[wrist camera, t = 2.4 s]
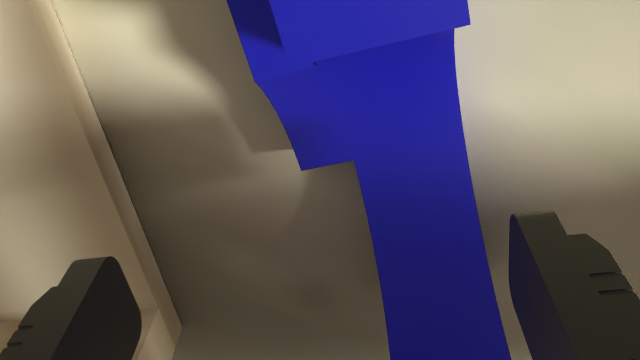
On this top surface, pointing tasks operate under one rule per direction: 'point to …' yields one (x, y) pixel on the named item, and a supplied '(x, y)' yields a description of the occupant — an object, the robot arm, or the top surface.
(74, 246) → the notched board
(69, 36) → the top surface
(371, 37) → the cable clip
